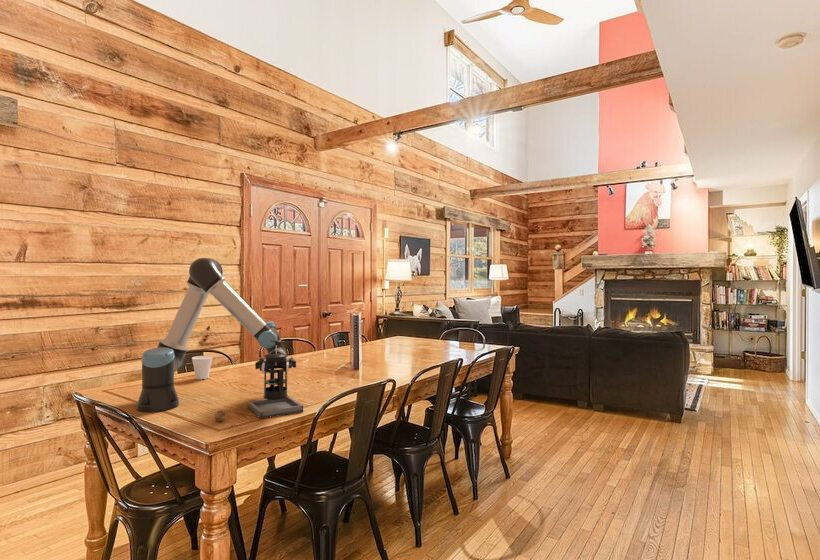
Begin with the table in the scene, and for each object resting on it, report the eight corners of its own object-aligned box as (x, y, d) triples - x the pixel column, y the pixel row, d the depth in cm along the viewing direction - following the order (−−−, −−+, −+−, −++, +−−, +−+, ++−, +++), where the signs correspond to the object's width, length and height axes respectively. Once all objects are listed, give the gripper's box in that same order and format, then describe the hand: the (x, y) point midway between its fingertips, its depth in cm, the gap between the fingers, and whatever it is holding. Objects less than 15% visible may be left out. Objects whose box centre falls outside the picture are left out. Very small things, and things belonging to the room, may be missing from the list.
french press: (259, 395, 196) (260, 339, 195) (282, 392, 201) (282, 337, 200) (269, 402, 186) (270, 343, 185) (292, 398, 191) (293, 341, 191)
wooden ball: (215, 423, 176) (215, 412, 175) (213, 420, 179) (213, 410, 179) (227, 421, 178) (227, 411, 178) (224, 419, 181) (224, 408, 181)
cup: (216, 376, 252) (216, 356, 252) (206, 381, 242) (206, 359, 242) (198, 376, 253) (198, 355, 253) (187, 380, 243) (187, 358, 243)
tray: (260, 418, 182) (260, 412, 182) (248, 407, 196) (248, 401, 196) (303, 411, 191) (303, 405, 191) (288, 402, 205) (288, 396, 205)
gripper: (302, 365, 213) (303, 376, 191) (251, 368, 208) (246, 379, 186) (302, 349, 213) (303, 358, 191) (251, 351, 208) (246, 360, 186)
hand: (275, 368), depth 189 cm, fingers closed on french press, 9 cm apart
